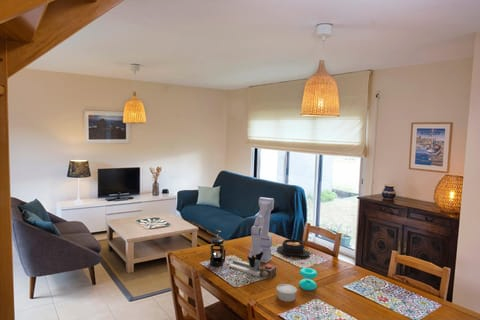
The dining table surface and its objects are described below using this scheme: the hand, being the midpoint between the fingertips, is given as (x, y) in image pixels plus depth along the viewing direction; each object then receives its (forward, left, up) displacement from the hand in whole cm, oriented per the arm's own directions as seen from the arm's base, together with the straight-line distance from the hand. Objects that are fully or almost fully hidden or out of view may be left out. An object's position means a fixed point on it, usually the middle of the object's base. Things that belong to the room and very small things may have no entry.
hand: (255, 265), depth 210 cm
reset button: (0, +10, -3) cm, 10 cm away
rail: (0, -5, -4) cm, 7 cm away
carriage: (0, 0, -2) cm, 2 cm away
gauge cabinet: (0, +10, -4) cm, 10 cm away
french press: (+6, -25, -4) cm, 27 cm away
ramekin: (+19, +31, -4) cm, 36 cm away
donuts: (0, +36, -4) cm, 36 cm away
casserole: (-46, +7, -4) cm, 47 cm away
